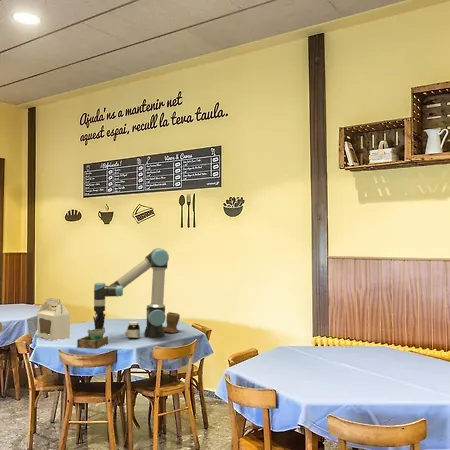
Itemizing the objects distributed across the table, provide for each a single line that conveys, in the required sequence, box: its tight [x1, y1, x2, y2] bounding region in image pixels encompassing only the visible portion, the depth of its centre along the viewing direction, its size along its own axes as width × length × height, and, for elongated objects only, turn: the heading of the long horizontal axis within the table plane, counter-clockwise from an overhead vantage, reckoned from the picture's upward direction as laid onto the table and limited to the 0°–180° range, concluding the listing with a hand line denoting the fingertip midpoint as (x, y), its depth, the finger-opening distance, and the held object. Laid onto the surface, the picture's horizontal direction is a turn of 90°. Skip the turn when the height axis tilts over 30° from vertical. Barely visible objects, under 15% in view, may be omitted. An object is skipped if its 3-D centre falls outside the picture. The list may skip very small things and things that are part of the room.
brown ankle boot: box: [163, 311, 181, 334], centre depth 383 cm, size 15×12×15 cm
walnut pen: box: [76, 335, 109, 350], centre depth 337 cm, size 14×15×5 cm
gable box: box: [36, 297, 71, 341], centre depth 363 cm, size 22×13×28 cm, turn 50°
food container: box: [87, 327, 106, 341], centre depth 340 cm, size 12×6×10 cm, turn 129°
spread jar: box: [124, 320, 141, 340], centre depth 361 cm, size 12×11×12 cm
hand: (99, 339), depth 347 cm, fingers closed
